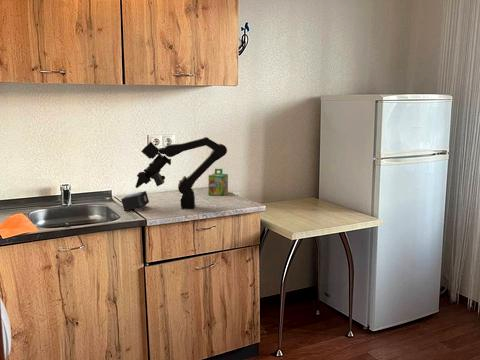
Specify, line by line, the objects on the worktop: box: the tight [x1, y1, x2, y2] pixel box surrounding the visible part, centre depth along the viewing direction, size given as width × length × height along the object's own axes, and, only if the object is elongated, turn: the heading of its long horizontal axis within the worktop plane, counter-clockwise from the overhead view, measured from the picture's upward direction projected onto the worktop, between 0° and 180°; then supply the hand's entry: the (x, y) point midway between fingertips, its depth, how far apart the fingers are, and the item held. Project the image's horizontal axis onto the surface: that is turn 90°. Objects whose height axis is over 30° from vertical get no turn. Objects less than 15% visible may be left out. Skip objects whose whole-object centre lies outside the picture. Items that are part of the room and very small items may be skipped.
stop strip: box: [134, 204, 147, 212], centre depth 235 cm, size 2×12×1 cm, turn 178°
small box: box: [121, 190, 150, 212], centre depth 235 cm, size 11×6×10 cm
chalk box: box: [207, 168, 229, 197], centre depth 269 cm, size 9×9×15 cm
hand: (136, 187), depth 233 cm, fingers closed
